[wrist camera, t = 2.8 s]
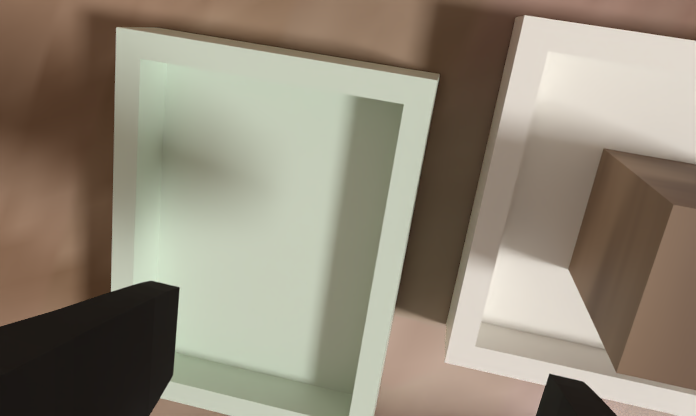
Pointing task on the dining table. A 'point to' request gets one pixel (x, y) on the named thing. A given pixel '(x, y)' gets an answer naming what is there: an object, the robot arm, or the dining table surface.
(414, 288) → the dining table surface
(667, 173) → the walnut block
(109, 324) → the robot arm
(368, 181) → the sage tray
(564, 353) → the cream dish
